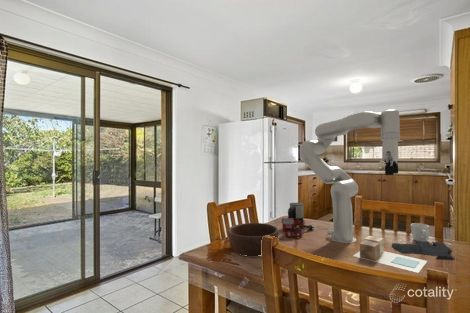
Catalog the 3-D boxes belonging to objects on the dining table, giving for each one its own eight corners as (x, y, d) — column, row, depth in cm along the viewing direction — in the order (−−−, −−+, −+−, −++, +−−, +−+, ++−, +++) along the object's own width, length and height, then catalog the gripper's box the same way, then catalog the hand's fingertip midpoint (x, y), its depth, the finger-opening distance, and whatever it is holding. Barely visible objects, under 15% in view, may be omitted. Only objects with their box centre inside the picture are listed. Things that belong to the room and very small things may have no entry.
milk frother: (291, 224, 171) (290, 202, 171) (315, 225, 165) (314, 203, 165) (286, 229, 158) (286, 206, 158) (313, 232, 152) (312, 207, 152)
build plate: (352, 258, 112) (352, 255, 112) (365, 249, 122) (365, 246, 122) (418, 275, 94) (418, 272, 94) (427, 263, 104) (427, 260, 104)
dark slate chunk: (388, 246, 126) (387, 236, 126) (439, 248, 121) (438, 238, 122) (401, 258, 111) (400, 247, 111) (460, 261, 107) (459, 250, 107)
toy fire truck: (305, 238, 141) (304, 219, 141) (282, 238, 142) (282, 219, 142) (303, 234, 148) (302, 216, 148) (281, 234, 149) (280, 216, 149)
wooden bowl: (289, 249, 125) (288, 228, 125) (255, 265, 108) (254, 240, 108) (252, 238, 143) (251, 220, 143) (217, 250, 126) (217, 229, 126)
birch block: (364, 251, 116) (364, 238, 116) (369, 248, 120) (369, 235, 120) (379, 255, 112) (378, 241, 112) (383, 251, 116) (383, 238, 116)
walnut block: (360, 257, 110) (359, 243, 110) (365, 253, 114) (364, 240, 114) (375, 261, 106) (374, 246, 106) (380, 257, 110) (379, 243, 110)
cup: (435, 245, 124) (434, 229, 124) (415, 244, 127) (415, 228, 127) (426, 238, 134) (426, 223, 135) (408, 237, 137) (408, 222, 137)
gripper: (385, 138, 127) (387, 172, 126) (376, 136, 114) (377, 175, 114) (403, 137, 121) (405, 173, 121) (395, 135, 109) (397, 175, 109)
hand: (391, 174), depth 117 cm, fingers open, 9 cm apart
